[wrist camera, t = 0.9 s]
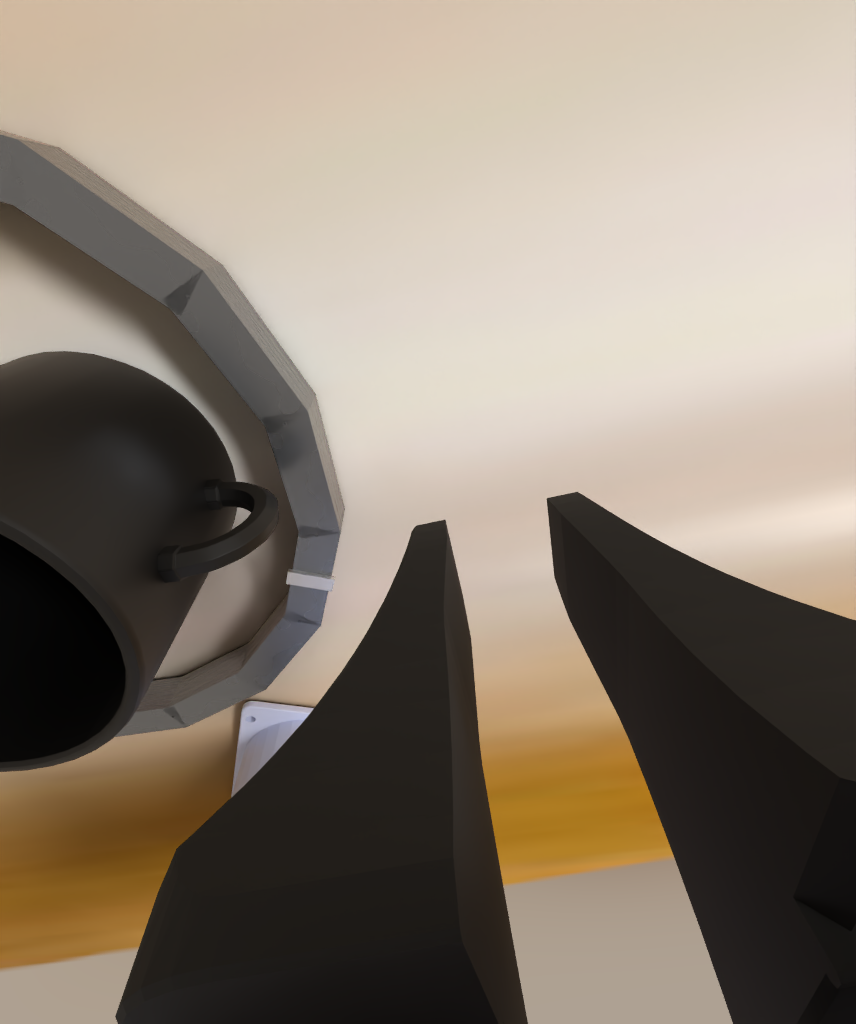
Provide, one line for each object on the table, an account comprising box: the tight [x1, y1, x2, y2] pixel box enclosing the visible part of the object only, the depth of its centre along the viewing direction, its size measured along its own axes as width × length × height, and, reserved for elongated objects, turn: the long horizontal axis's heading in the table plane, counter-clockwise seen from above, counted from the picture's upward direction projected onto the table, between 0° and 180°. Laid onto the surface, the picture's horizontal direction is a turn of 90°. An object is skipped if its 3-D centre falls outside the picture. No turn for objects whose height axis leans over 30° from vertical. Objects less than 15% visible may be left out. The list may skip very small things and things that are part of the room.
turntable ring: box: [0, 130, 345, 737], centre depth 18 cm, size 24×24×2 cm
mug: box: [0, 351, 279, 772], centre depth 15 cm, size 9×12×9 cm
